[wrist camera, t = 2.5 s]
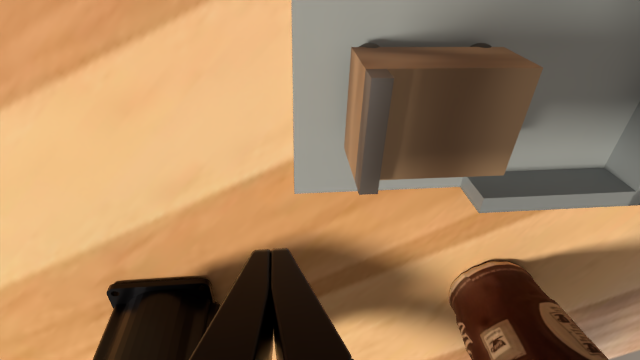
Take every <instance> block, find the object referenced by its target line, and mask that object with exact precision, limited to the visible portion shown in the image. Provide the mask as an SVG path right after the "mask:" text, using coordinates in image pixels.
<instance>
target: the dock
mask: <svg viewBox="0 0 640 360" xmlns="http://www.w3.org/2000/svg"><path fill="white" fill-rule="evenodd" d="M365 43H374V44H377V45H379V46H380V47H470V46H471V45H473V44H476V43H486V44H489V45H490V46H492V47H505V48H507V49H509V50H511V51H513V52H514V53H516V54H518V55H520V56H522V57H524V58H526V59H528V60H530V61H532V62H534V63H535V64H537V65H539V66H541V67H543V70H542V73H541V75H540V78H539V81H538V84H537V86H536V89H535V92H534V95H533V97H532V100H531V103H530V105H529V108H528V111H527V114H526V116H525V119H524V122H523V124H522V127H521V130H520V133H519V135H518V138H517V141H516V144H515V146H514V149H513V152H512V154H511V157H510V160H509V163H508V165H507V168H506V171H505V173H504V175H501V176H475V177H450V178H424V179H398V180H380V181H379V188H378V190H394V189H418V188H442V187H461V189H462V190H463V192H464V193H465V194H466V196H467V197H468V199H469V200H470V201H471V203H472V204H473V205H474V207H475V208H476V210H477V211H478V212H479V213H489V212H509V211H529V210H549V209H569V208H590V207H610V206H630V205H640V0H292V62H293V128H294V191H295V194H298V193H322V192H346V191H358V190H357V187H356V183H355V180H354V177H353V174H352V171H351V168H350V165H349V162H348V159H347V156H346V153H345V149H344V141H345V127H346V113H347V99H348V85H349V72H350V58H351V47H359V46H361V45H363V44H365Z"/></svg>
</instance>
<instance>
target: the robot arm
mask: <svg viewBox="0 0 640 360" xmlns="http://www.w3.org/2000/svg"><path fill="white" fill-rule="evenodd" d="M107 296H108V298H109V300H110V302H111V304H112V307H113V312H112V314H111V317H110V319H109V322H108V324H107V326H106V329H105V331H104V334H103V336H102V338H101V341H100V343H99V346H98V348H97V351H96V353H95V355H94V358H93V360H272V352H273V339H274V342H275V350H276V357H277V360H354V359H351V354H350V353H349V351H348V349H347V348H346V346H345V344H344V342H343V341H342V339H341V337H340V336H339V334H338V332H337V331H336V329H335V327H334V325H333V324H332V322H331V320H330V319H329V317H328V315H327V314H326V312H325V310H324V309H323V307H322V305H321V303H320V302H319V300H318V298H317V297H316V295H315V293H314V292H313V290H312V288H311V286H310V285H309V283H308V281H307V280H306V278H305V276H304V275H303V273H302V271H301V269H300V268H299V266H298V264H297V263H296V261H295V259H294V258H293V256H292V254H291V253H290V251H289V250H288V249H287V248H282V249H273V250H272V251H270V250H269V249H265V250H255V251H253V252H252V254H251V256H250V257H249V259H248V261H247V262H246V264H245V266H244V268H243V269H242V271H241V273H240V274H239V276H238V278H237V279H236V281H235V283H234V284H233V286H232V288H231V290H230V291H229V293H228V295H227V296H226V298H225V300H224V301H223V303H222V305H221V307H220V305H219V304H218V303H217V302H214V297H213V292H212V287H211V283H210V281H209V280H208V279H204V278H199V279H184V280H168V281H152V282H136V283H121V284H112V285H110V286H109V288H108V291H107Z"/></svg>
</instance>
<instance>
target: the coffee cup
mask: <svg viewBox="0 0 640 360" xmlns="http://www.w3.org/2000/svg"><path fill="white" fill-rule="evenodd" d="M449 302H450V305H451V307H452V308H453V310H454V312H455V314H456V320H457V325H458V327H459V329H460V332H461V335H462V338H463V341H464V344H465V346H466V349H467V352H468V354H469V355H470V357H471V359H472V360H608V358H607V357H606V356H605V355H604V354H603V353H602V352H601V351H600V350H599V348H598V347H597V346H596V345H595V344H594V343H593V342H592V341H591V340H590V339H589V338H588V337H587V336H586V335H585V334H584V333H583V332H582V330H581V329H580V328H579V327H578V326H577V325H576V324H575V323H574V322H573V320H572V319H571V318H570V317H569V316H568V315H567V314H566V312H565V311H564V310H563V309H562V308H561V307H560V306H559V305H558V304H557V303H556V302H555V301H554V300H552V299H550V298H549V297H548V296H547V295H546V294H545V293H544V292H543V291H542V290H541V289H540V287H539V286H538V285H537V284H536V282H535V281H534V280H533V278H532V276H531V275H530V274H529V273H528V272H527V271H526V270H525V269H523V268H522V267H521V266H519V265H516V264H513V263H510V262H494V261H492V262H487V263H484V264H482V265H480V266H477V267H473V268H471V269H470V270H468V271H467V272H465V273H463V274H461V275H460V276H459V277H458V278H457V279H456V280H455V281H454V282H453V283H452V285H451V288H450V292H449Z"/></svg>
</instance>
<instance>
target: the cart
mask: <svg viewBox="0 0 640 360" xmlns="http://www.w3.org/2000/svg"><path fill="white" fill-rule="evenodd" d="M542 70H543V67H541V66H539V65H537V64H535V63H534V62H532V61H530V60H528V59H526V58H524V57H522V56H520V55H518V54H516V53H514V52H513V51H511V50H509V49H507V48H505V47H492V46H490V45H489V44H486V43H476V44H473V45H471V46H470V47H380V46H379V45H377V44H374V43H365V44H363V45H361V46H359V47H351V58H350V72H349V85H348V99H347V113H346V127H345V141H344V149H345V153H346V156H347V159H348V162H349V165H350V168H351V171H352V174H353V177H354V180H355V183H356V187H357V190H358V193H359V195H362V194H378V188H379V181H380V180H398V179H424V178H450V177H475V176H501V175H504V173H505V171H506V168H507V165H508V163H509V160H510V157H511V154H512V152H513V149H514V146H515V144H516V141H517V138H518V135H519V133H520V130H521V127H522V124H523V122H524V119H525V116H526V114H527V111H528V108H529V105H530V103H531V100H532V97H533V95H534V92H535V89H536V86H537V84H538V81H539V78H540V75H541V73H542Z"/></svg>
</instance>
